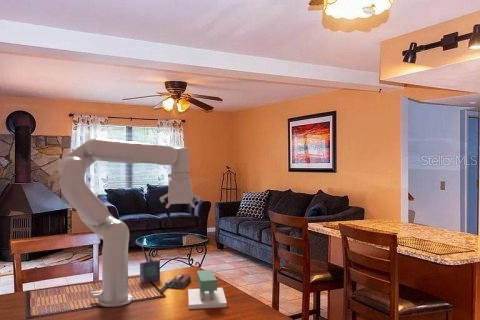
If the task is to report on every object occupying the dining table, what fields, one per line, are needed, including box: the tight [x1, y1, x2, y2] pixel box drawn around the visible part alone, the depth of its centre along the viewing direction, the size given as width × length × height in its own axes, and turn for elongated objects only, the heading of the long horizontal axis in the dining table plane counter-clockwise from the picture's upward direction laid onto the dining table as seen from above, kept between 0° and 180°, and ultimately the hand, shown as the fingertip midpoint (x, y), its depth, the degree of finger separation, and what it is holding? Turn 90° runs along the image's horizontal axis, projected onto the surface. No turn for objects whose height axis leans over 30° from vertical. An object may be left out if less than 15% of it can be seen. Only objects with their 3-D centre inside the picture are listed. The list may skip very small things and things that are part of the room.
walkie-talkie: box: [159, 273, 192, 292], centre depth 179 cm, size 9×4×20 cm
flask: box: [139, 256, 161, 284], centre depth 186 cm, size 9×3×11 cm, turn 122°
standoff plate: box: [187, 287, 228, 310], centre depth 161 cm, size 14×18×6 cm
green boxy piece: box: [196, 269, 218, 292], centre depth 161 cm, size 6×14×4 cm, turn 12°
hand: (180, 217), depth 175 cm, fingers open, 9 cm apart
